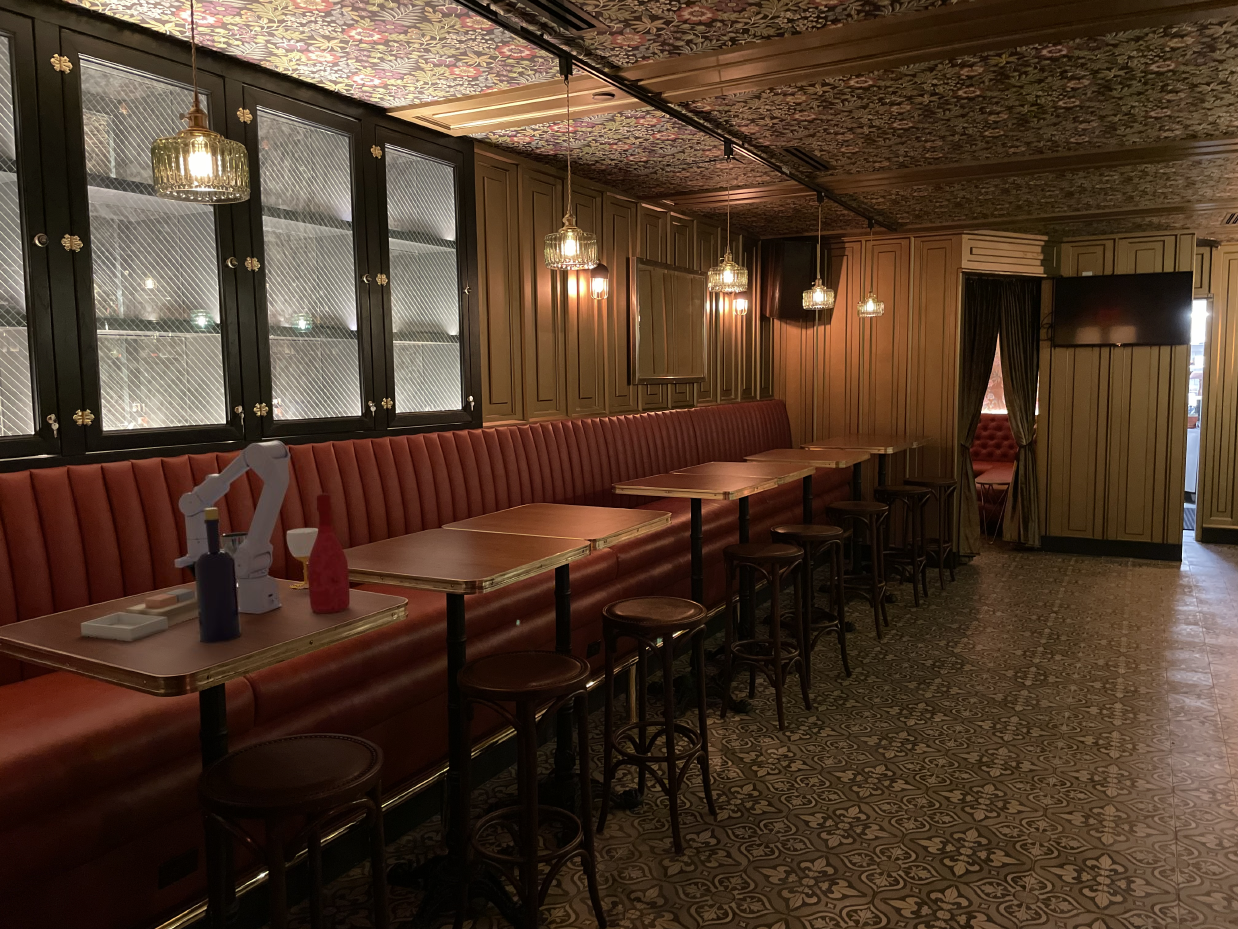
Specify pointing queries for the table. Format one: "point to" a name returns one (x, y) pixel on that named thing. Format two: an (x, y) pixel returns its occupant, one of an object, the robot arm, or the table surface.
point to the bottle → (216, 588)
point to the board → (169, 611)
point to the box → (124, 626)
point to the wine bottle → (327, 566)
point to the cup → (301, 547)
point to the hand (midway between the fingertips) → (203, 589)
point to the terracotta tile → (160, 601)
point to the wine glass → (233, 542)
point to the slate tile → (182, 594)
